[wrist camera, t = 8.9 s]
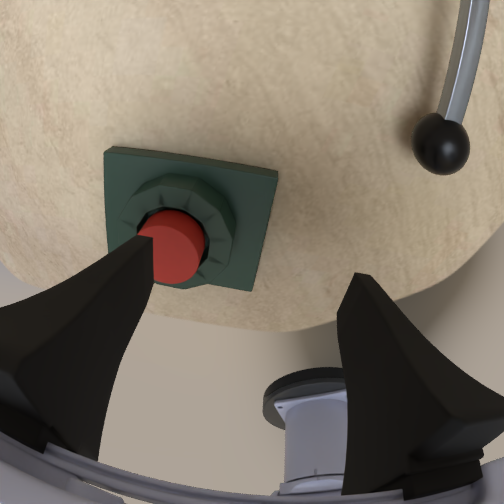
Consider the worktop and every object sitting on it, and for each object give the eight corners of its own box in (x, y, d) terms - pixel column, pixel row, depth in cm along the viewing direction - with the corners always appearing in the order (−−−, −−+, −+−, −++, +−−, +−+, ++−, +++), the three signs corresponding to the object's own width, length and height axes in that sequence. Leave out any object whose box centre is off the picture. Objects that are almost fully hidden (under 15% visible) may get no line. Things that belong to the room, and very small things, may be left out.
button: (208, 215, 16) (201, 232, 15) (202, 270, 18) (196, 289, 17) (143, 204, 16) (131, 220, 15) (143, 258, 18) (133, 276, 17)
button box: (278, 170, 17) (278, 191, 15) (253, 280, 22) (249, 311, 19) (112, 145, 17) (87, 162, 15) (115, 254, 21) (98, 280, 19)
